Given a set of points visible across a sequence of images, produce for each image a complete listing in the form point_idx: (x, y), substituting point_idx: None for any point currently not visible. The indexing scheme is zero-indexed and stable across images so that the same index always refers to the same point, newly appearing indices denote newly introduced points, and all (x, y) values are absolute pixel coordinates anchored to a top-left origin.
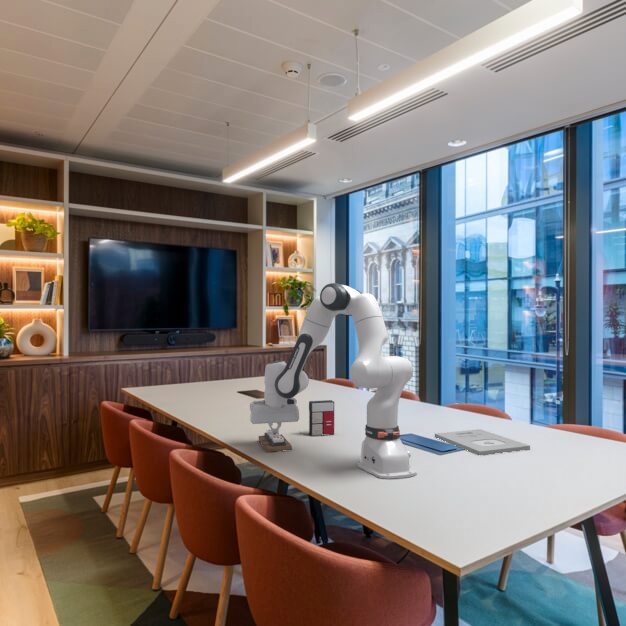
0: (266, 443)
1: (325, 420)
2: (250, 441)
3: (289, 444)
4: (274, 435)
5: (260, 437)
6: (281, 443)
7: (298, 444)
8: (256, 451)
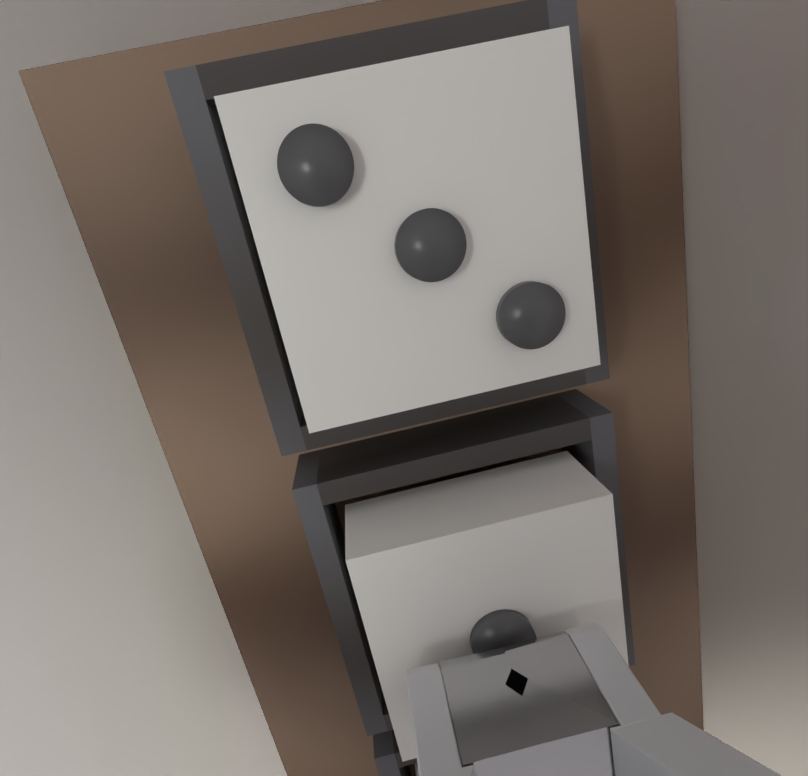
0: (643, 329)
1: None
2: (772, 688)
3: (107, 208)
4: (515, 524)
5: (695, 720)
6: (304, 60)
7: (16, 557)
8: (784, 125)
